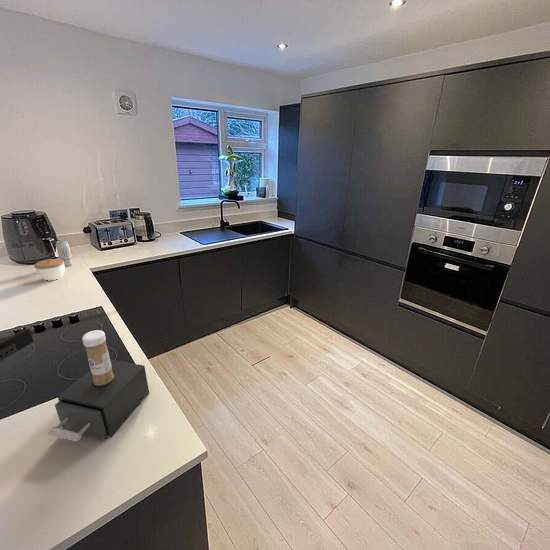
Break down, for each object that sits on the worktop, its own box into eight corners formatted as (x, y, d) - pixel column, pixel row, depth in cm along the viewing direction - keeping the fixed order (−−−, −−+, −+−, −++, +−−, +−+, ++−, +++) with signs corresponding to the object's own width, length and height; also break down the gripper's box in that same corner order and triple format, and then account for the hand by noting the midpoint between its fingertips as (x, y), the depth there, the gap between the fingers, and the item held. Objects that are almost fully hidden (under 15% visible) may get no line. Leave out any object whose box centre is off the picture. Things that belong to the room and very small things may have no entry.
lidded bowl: (38, 285, 147) (32, 264, 143) (39, 277, 157) (33, 258, 153) (68, 279, 154) (63, 260, 150) (67, 272, 164) (62, 254, 160)
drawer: (88, 457, 63) (80, 431, 60) (45, 445, 65) (36, 420, 62) (141, 397, 79) (136, 374, 76) (105, 389, 81) (100, 367, 78)
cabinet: (111, 437, 68) (103, 407, 65) (67, 426, 71) (57, 396, 67) (149, 393, 81) (144, 365, 78) (111, 385, 84) (104, 358, 80)
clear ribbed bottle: (64, 267, 171) (58, 243, 166) (59, 265, 174) (53, 241, 168) (75, 264, 176) (69, 241, 170) (70, 262, 179) (64, 239, 173)
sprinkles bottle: (89, 385, 71) (77, 339, 66) (101, 373, 75) (90, 328, 70) (107, 387, 70) (96, 340, 65) (118, 374, 74) (108, 330, 69)
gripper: (-244, 426, 37) (-44, 337, 57) (-108, 473, 32) (61, 357, 52) (-284, 381, 35) (-59, 303, 54) (-142, 424, 30) (50, 321, 49)
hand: (0, 329), depth 53 cm, fingers open, 13 cm apart
